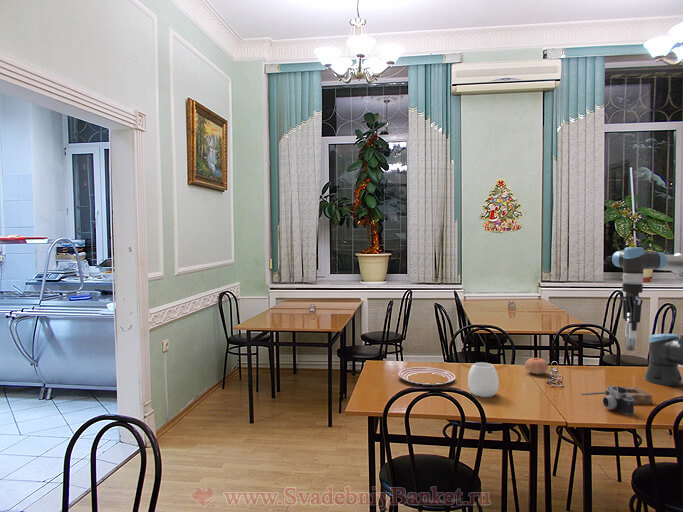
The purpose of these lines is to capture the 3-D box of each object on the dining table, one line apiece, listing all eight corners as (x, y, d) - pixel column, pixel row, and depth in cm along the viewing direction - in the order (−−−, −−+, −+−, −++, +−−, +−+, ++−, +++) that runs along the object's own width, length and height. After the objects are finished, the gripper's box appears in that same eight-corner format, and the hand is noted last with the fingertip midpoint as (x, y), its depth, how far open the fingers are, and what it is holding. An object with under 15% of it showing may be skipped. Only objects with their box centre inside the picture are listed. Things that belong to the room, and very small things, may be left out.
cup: (477, 388, 230) (477, 359, 230) (504, 394, 221) (504, 364, 220) (462, 394, 221) (462, 365, 221) (489, 401, 212) (489, 370, 211)
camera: (593, 403, 209) (593, 379, 208) (612, 402, 209) (612, 379, 209) (615, 416, 193) (616, 391, 193) (636, 416, 194) (636, 390, 193)
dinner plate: (463, 377, 248) (463, 371, 248) (443, 392, 225) (443, 385, 225) (412, 370, 263) (412, 364, 263) (389, 383, 240) (389, 376, 240)
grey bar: (632, 349, 216) (633, 312, 216) (636, 350, 213) (637, 313, 212) (624, 348, 217) (625, 312, 216) (627, 350, 213) (629, 313, 213)
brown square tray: (638, 395, 218) (638, 387, 218) (652, 403, 207) (652, 395, 207) (612, 394, 219) (612, 387, 219) (624, 403, 208) (624, 395, 208)
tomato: (521, 370, 259) (521, 355, 259) (541, 370, 260) (541, 355, 260) (531, 376, 248) (531, 360, 248) (552, 375, 249) (552, 360, 249)
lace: (608, 392, 223) (608, 391, 223) (610, 392, 222) (610, 392, 222) (580, 394, 220) (581, 393, 220) (582, 394, 219) (582, 394, 219)
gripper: (615, 281, 222) (613, 333, 223) (632, 284, 206) (630, 340, 207) (633, 281, 221) (631, 334, 222) (651, 284, 205) (649, 341, 206)
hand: (630, 337), depth 215 cm, fingers closed on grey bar, 3 cm apart
